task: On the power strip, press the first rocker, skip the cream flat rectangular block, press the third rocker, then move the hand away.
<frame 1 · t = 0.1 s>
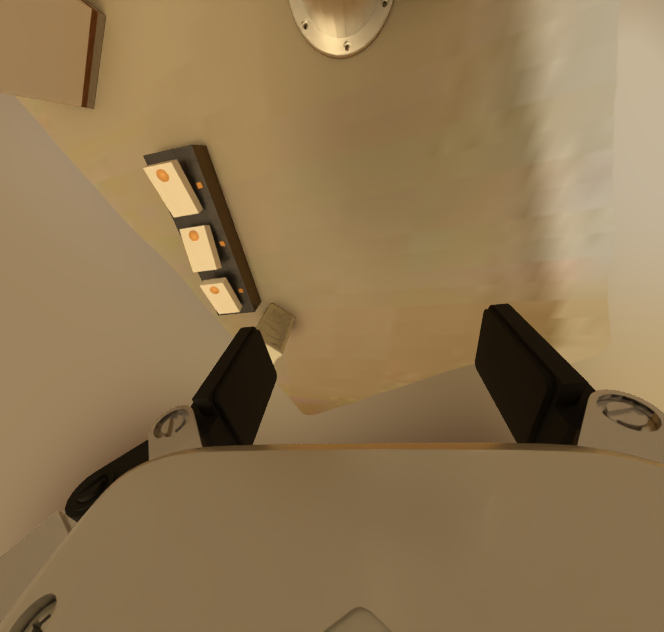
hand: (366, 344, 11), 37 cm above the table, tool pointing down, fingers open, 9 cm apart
power strip: (218, 239, 47), on the table
cream flat rectangular block 2: (201, 249, 42), point 6 cm above the table, hinge at -12.0°
skincare box: (279, 315, 55), on the table
rocker 1: (174, 190, 37), point 6 cm above the table, hinge at 12.0°
display case: (59, 35, 34), on the table
rocker 3: (222, 296, 47), point 6 cm above the table, hinge at 12.0°
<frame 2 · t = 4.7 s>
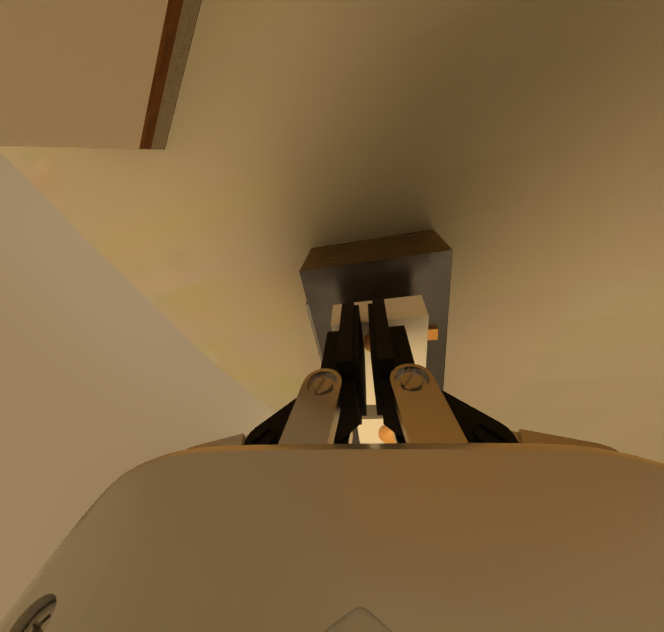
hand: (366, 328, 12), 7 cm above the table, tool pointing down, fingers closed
power strip: (385, 385, 24), on the table
cream flat rectangular block 2: (391, 448, 19), point 6 cm above the table, hinge at -12.0°
rocker 1: (382, 358, 14), point 6 cm above the table, hinge at 7.5°, touching gripper
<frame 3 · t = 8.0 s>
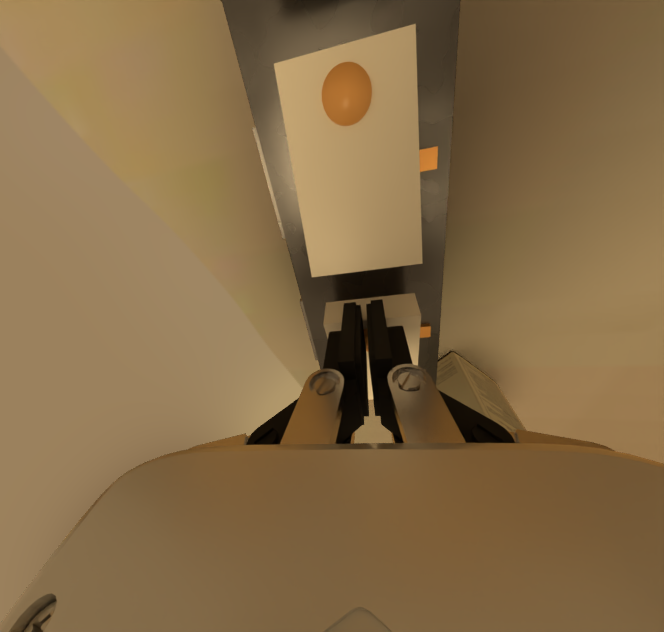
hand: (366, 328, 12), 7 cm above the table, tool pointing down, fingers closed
power strip: (356, 168, 15), on the table
cream flat rectangular block 2: (355, 175, 10), point 6 cm above the table, hinge at -12.0°
skincare box: (456, 378, 23), on the table
rocker 3: (375, 355, 14), point 6 cm above the table, hinge at 10.0°, touching gripper
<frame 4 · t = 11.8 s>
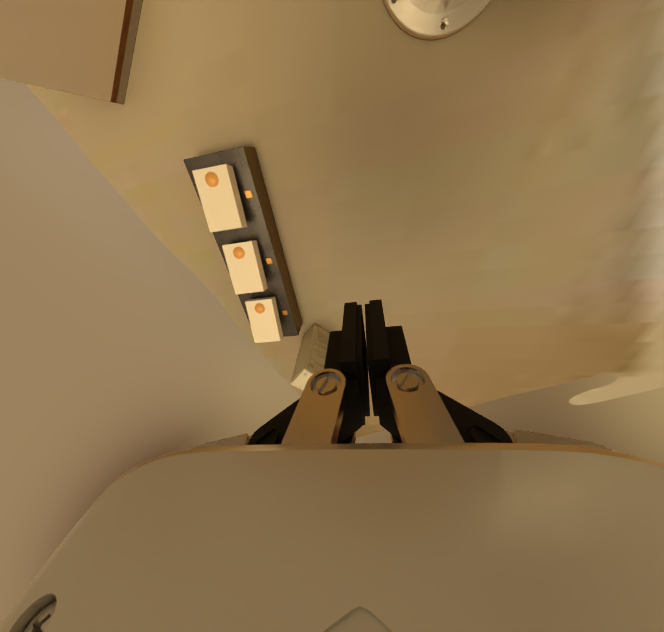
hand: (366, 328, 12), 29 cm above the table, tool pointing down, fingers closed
power strip: (259, 254, 41), on the table
cream flat rectangular block 2: (245, 267, 36), point 6 cm above the table, hinge at -12.0°
skincare box: (321, 337, 50), on the table
rocker 1: (220, 200, 31), point 6 cm above the table, hinge at -11.6°
display case: (86, 15, 28), on the table
rocker 3: (264, 320, 41), point 6 cm above the table, hinge at -14.9°
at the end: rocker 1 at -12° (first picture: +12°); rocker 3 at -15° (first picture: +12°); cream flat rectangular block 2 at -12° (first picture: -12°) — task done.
